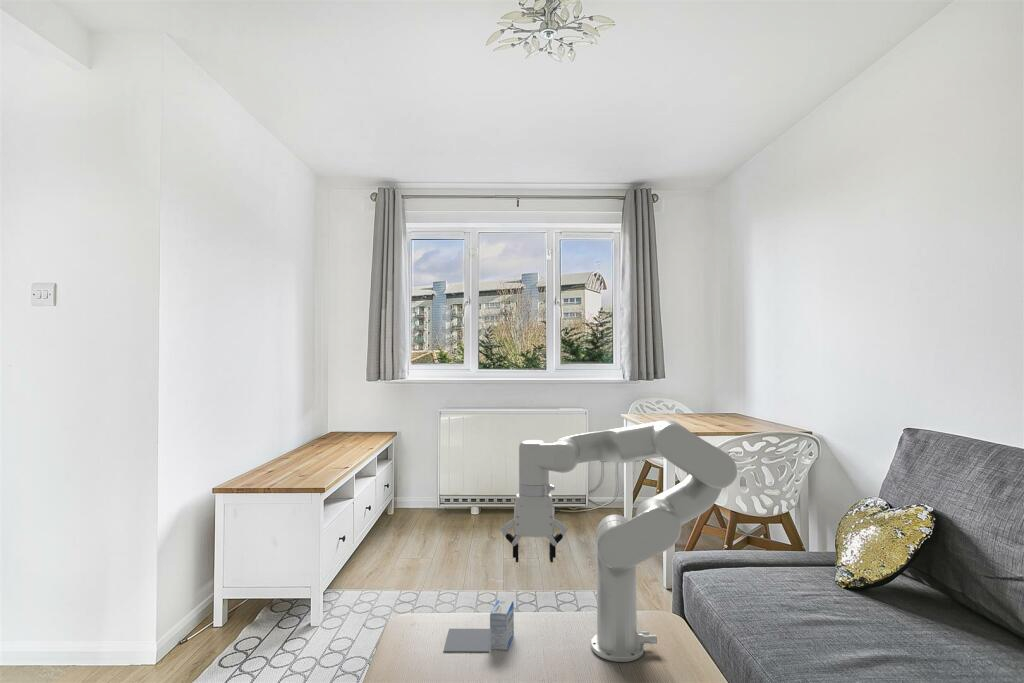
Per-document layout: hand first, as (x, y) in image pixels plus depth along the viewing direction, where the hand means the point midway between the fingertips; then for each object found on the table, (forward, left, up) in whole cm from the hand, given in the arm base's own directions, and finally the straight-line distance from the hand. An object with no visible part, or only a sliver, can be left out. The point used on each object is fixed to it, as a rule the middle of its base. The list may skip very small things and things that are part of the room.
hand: (534, 560), depth 133 cm
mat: (+17, -1, -20) cm, 26 cm away
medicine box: (+8, 0, -20) cm, 22 cm away
